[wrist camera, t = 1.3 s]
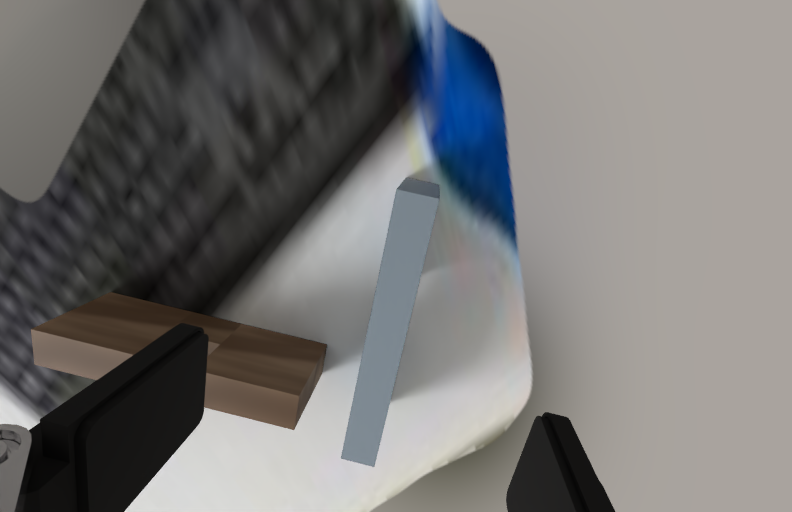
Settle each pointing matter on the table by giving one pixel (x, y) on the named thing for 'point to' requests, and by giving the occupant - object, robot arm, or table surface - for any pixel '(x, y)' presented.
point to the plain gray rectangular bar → (390, 316)
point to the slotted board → (226, 362)
